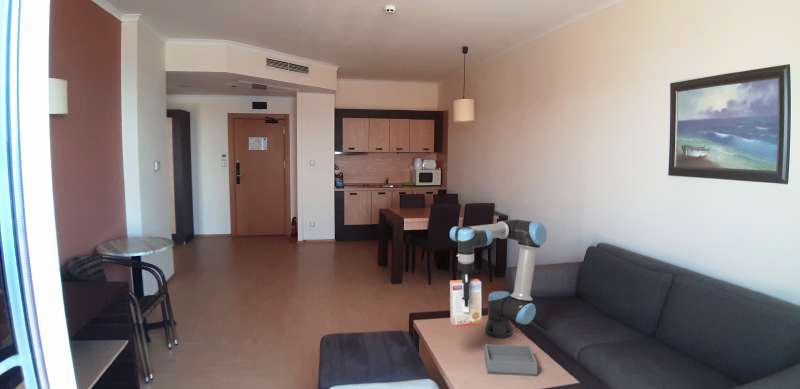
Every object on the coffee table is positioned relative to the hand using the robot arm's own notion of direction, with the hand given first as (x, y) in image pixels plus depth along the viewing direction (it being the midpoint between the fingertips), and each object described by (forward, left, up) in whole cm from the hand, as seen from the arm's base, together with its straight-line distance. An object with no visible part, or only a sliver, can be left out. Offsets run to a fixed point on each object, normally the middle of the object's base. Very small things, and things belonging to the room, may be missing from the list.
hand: (465, 309), depth 210 cm
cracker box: (0, 0, -7) cm, 7 cm away
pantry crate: (0, +21, -27) cm, 34 cm away
